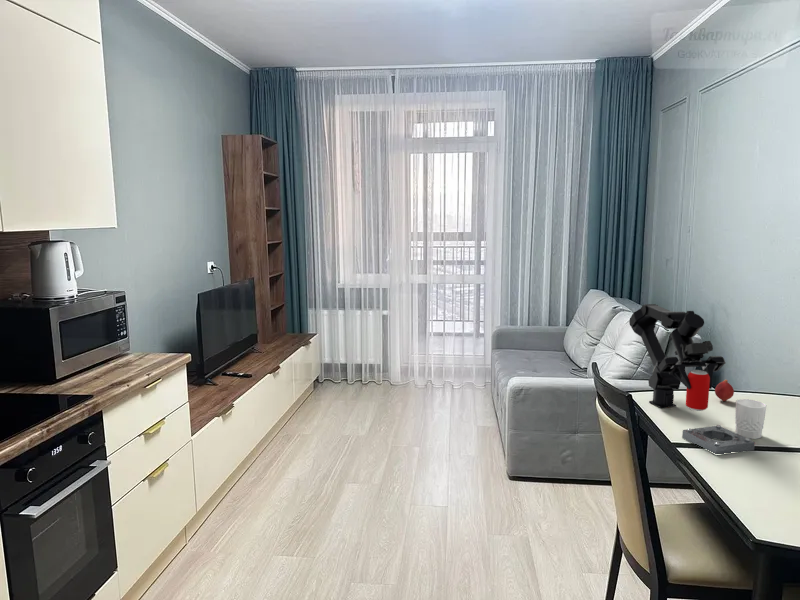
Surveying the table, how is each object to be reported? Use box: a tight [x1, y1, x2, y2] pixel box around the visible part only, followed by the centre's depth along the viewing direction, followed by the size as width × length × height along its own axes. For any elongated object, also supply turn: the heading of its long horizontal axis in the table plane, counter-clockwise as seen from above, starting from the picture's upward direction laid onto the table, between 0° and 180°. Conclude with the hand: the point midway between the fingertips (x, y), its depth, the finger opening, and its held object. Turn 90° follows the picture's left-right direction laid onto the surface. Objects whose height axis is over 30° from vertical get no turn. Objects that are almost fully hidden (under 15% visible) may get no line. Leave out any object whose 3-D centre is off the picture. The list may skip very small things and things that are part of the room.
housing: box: [681, 424, 756, 455], centre depth 164 cm, size 13×13×3 cm
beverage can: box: [685, 369, 710, 412], centre depth 175 cm, size 6×6×12 cm
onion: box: [714, 379, 735, 402], centre depth 200 cm, size 6×6×8 cm
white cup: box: [734, 398, 767, 440], centre depth 170 cm, size 8×8×10 cm
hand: (700, 388), depth 173 cm, fingers closed on beverage can, 6 cm apart
